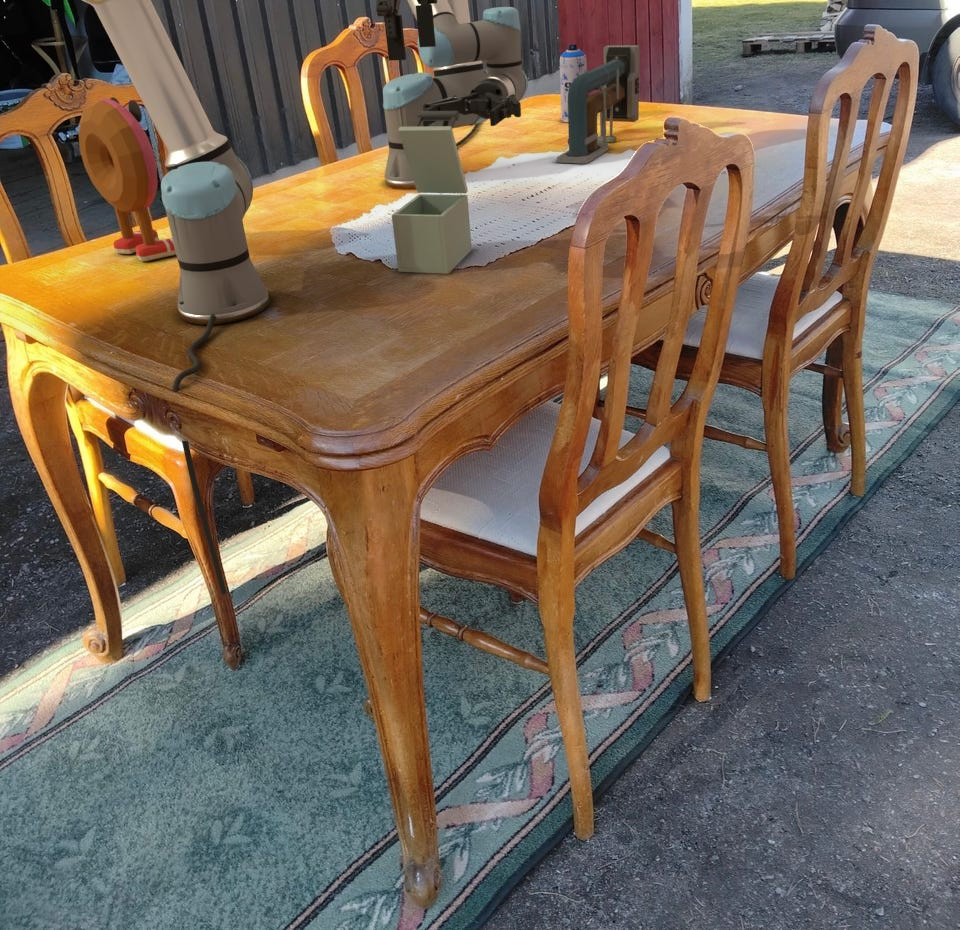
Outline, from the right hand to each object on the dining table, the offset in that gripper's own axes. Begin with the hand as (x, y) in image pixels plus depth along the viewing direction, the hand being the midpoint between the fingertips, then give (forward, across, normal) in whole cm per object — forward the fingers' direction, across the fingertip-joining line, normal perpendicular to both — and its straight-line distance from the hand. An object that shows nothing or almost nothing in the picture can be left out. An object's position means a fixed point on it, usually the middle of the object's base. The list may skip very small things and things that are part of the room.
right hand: (457, 118), depth 183 cm
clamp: (-71, -11, -22) cm, 75 cm away
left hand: (+18, 0, +14) cm, 23 cm away
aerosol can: (-103, +3, -22) cm, 105 cm away
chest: (+18, 0, -22) cm, 28 cm away
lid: (+14, 0, -5) cm, 15 cm away
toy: (+19, +62, -22) cm, 69 cm away
